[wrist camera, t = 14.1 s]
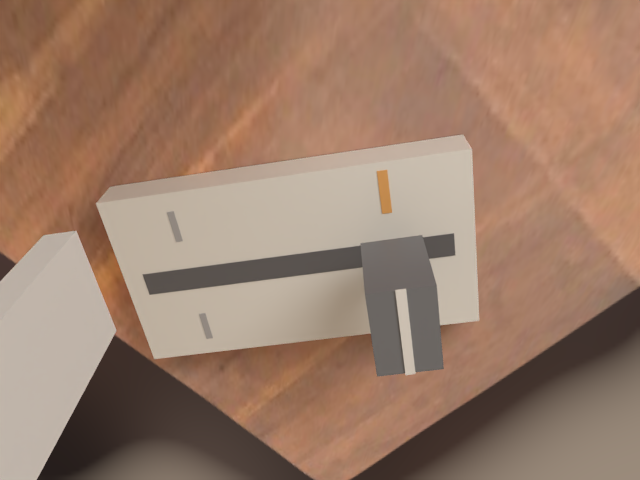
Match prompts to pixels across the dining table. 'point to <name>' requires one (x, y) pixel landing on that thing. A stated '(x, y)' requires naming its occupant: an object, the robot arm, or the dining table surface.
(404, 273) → the fader knob
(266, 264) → the console
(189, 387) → the dining table surface
